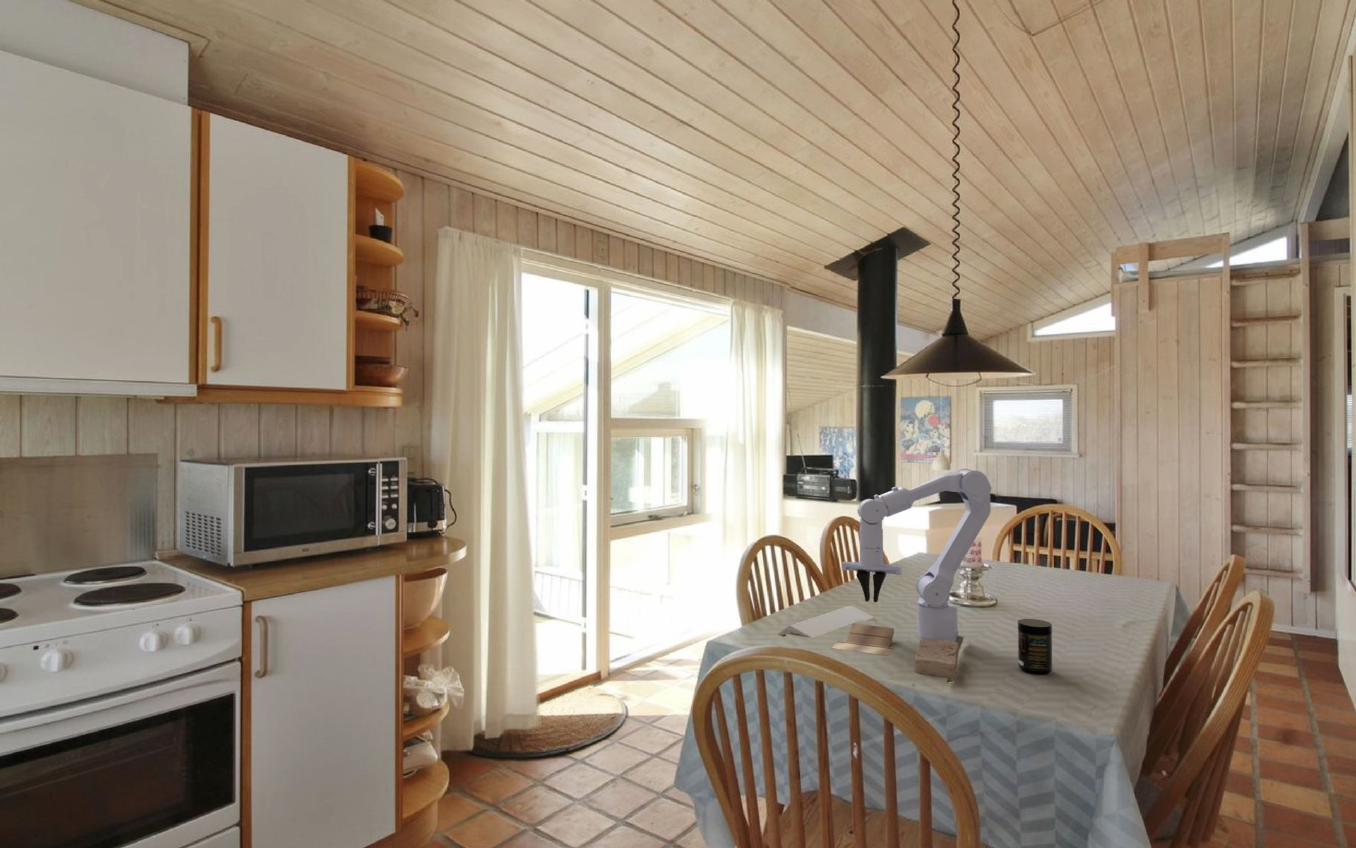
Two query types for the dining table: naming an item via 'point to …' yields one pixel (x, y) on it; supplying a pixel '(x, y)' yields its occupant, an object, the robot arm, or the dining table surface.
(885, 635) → the plank
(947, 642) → the brick
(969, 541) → the robot arm
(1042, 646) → the supplement container
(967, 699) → the dining table surface
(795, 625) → the crown molding
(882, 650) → the floor strip
